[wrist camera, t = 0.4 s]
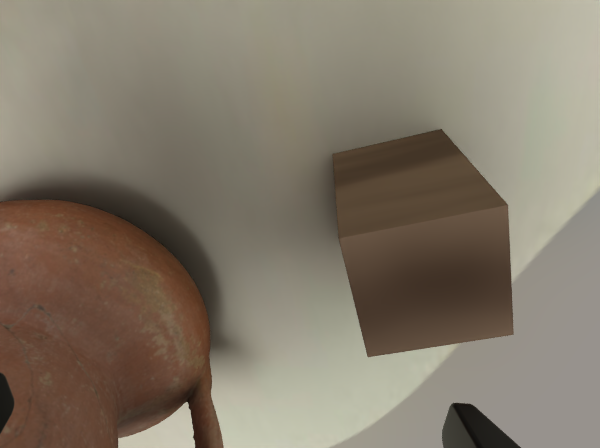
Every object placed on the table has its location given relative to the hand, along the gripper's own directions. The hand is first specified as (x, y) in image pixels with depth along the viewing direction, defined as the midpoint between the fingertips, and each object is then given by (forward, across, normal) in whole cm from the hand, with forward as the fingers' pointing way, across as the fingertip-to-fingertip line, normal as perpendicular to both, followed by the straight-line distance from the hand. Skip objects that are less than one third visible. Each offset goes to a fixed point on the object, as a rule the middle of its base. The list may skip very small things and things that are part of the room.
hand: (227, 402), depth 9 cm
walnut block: (+14, +6, -1) cm, 15 cm away
